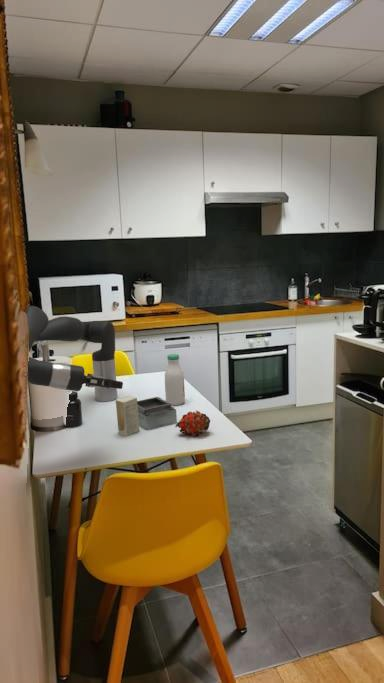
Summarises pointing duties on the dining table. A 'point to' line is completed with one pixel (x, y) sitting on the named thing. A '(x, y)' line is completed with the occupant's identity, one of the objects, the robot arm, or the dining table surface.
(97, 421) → the dining table surface
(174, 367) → the milk bottle
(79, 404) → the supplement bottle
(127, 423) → the skincare box
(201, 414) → the dragon fruit
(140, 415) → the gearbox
